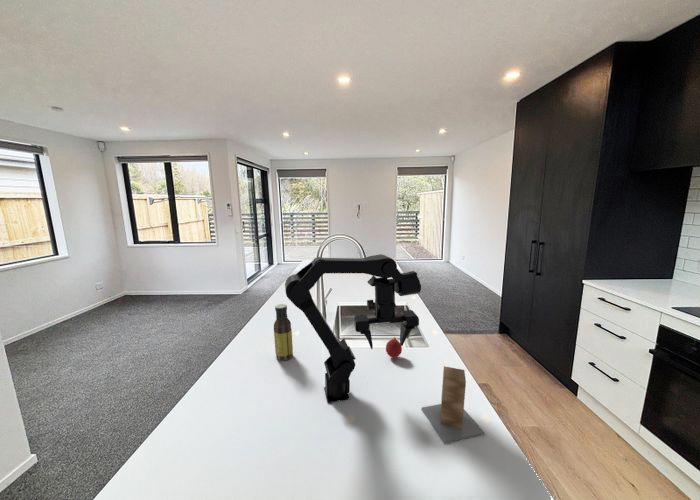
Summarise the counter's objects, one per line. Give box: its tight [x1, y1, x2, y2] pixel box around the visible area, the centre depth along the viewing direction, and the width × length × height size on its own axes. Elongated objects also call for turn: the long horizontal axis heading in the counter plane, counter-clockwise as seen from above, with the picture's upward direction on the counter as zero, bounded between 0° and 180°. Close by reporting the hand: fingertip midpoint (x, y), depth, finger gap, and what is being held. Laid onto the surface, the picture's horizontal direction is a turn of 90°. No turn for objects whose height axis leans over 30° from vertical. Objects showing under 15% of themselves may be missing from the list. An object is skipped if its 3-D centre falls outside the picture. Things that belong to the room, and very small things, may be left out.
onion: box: [385, 336, 403, 359], centre depth 98 cm, size 6×6×8 cm
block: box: [440, 365, 467, 429], centre depth 69 cm, size 5×5×13 cm
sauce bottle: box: [273, 303, 294, 362], centre depth 98 cm, size 6×6×20 cm
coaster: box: [421, 403, 486, 445], centre depth 70 cm, size 11×11×1 cm
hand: (386, 346), depth 82 cm, fingers open, 9 cm apart
